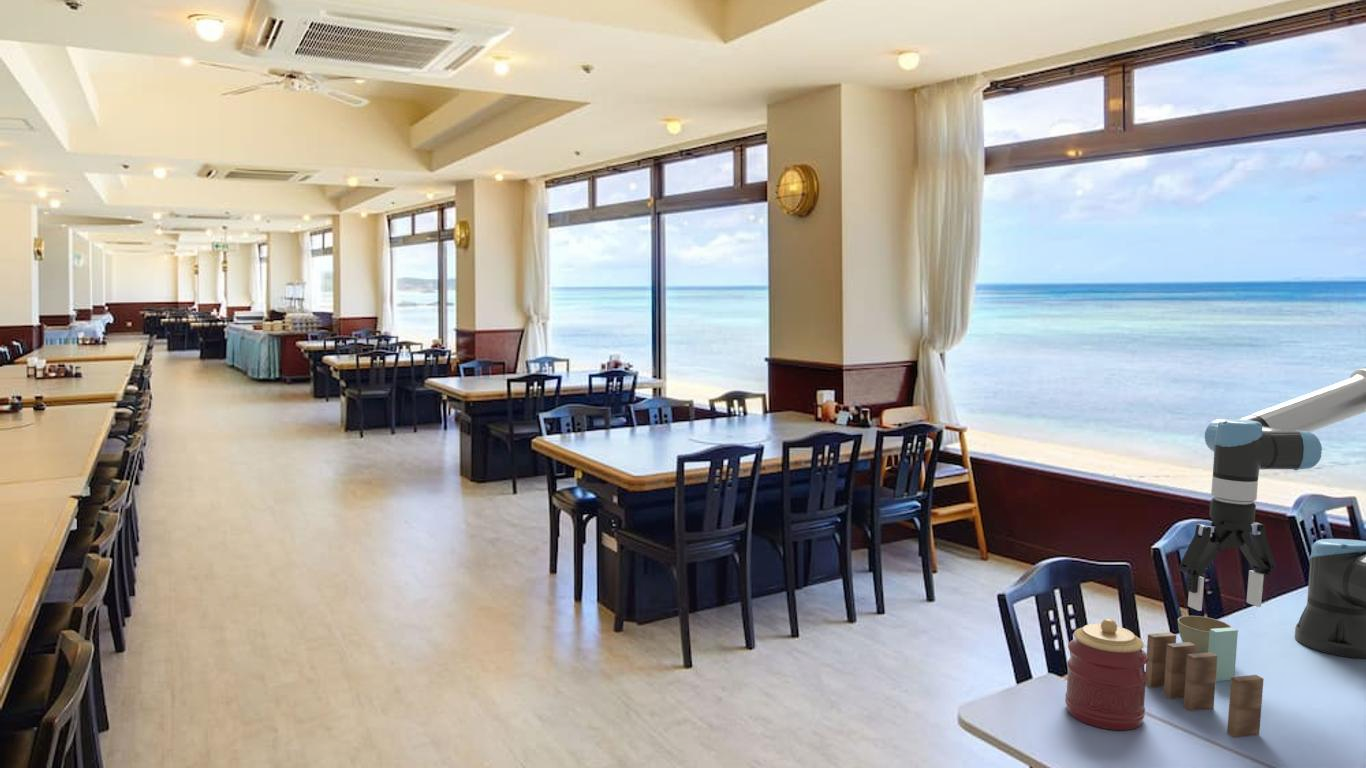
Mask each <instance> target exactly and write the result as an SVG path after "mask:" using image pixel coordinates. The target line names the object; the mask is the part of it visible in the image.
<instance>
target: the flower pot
mask: <svg viewBox="0 0 1366 768" xmlns="http://www.w3.org/2000/svg"><path fill="white" fill-rule="evenodd" d="M1177 626H1178V632H1179V636H1180V640H1181V643H1183V642H1191V643H1193V644H1195V645H1196V654H1197V653H1208V647H1209V633H1210V629H1216V628H1229V627H1232V626H1231V625H1230V624H1228V623H1226V622H1225V621H1222V620H1219V619H1216V618H1211V617H1208V616H1207V617H1206V616H1201V615H1182V616H1179V617H1178V618H1177Z"/></svg>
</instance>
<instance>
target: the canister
mask: <svg viewBox="0 0 1366 768" xmlns="http://www.w3.org/2000/svg"><path fill="white" fill-rule="evenodd" d="M1073 637H1074V639H1072V640H1071V641H1069V642H1068V644H1067V648H1068V651H1069V652H1070V657H1069V659H1068V660H1067V663H1066V665H1067V679H1066V681H1067V682H1066V692H1065V698H1064V699H1065V700H1064V701H1065V705H1066V706H1065V707H1066V710H1067V712H1068V713H1069V715H1071V716H1072V717H1073V718H1075V719H1076V720H1078V721H1079V722H1082V723H1085V724H1087V725H1089V726H1093V727H1096V728H1101V729H1106V730H1112V731H1113V730H1114V731H1129V730H1134V729H1136V728H1139V727H1141V725H1142V724H1143V721H1144V719H1145V715H1146V713H1145V712H1146V708H1145V697H1146V686H1147V685H1146V679H1147V674H1146V670H1145V666H1146V663H1147V662H1148V656H1147V652H1145V651H1144V650H1143V648H1144V646H1145V645H1144V641H1143V640H1142V639H1141V638H1140V637H1138V636H1137V635H1135V634H1134V632H1132V631H1131V630H1129V629H1127V628H1126V627H1125V628H1124V627H1122V626H1118V625H1117V622H1116V621H1115V620H1114V619H1113V618H1112V619H1111V618H1105V619H1103V620H1102V621H1101V623H1089V624H1086V625H1084V626H1082V627H1080V628H1077V629H1076V630H1075V631H1074V632H1073Z"/></svg>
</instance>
